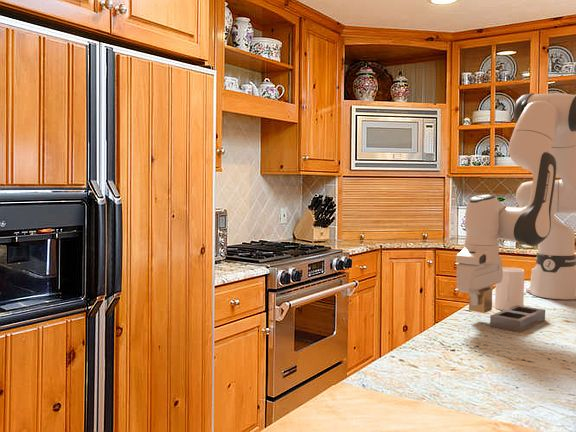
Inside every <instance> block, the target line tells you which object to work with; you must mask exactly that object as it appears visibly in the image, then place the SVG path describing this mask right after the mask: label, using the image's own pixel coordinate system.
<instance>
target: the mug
mask: <svg viewBox="0 0 576 432" xmlns="http://www.w3.org/2000/svg"><path fill="white" fill-rule="evenodd" d="M502 269H503V279H502V281H501V282H500V283H497V284H495V291H494V292H495V294H494V296H495V297H494V305H493V306H494V308H495V309H497V310H500V311H503V310H506V309H508V308H511V307H513V306H516V305H519V306H525V305H524V301H525V300H524V296H525V269H523V268H520V267H519V268H518V267H513V266H512V267H510V266H509V267H508V266H506V267H505V266H504V267H503V266H502Z"/></svg>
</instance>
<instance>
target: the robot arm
mask: <svg viewBox="0 0 576 432" xmlns="http://www.w3.org/2000/svg"><path fill="white" fill-rule="evenodd" d="M513 120H514V121H515V123H516V124H515V126H514V129H513V131H512V134H511V137H510V139H509V142H508V149H507V152H508V155H509V157H510V159H511V160H512V162H513V163H515V165H517V166H518V167H520V168H522V169H524V170H526V171H527V172H530V173H531V174H532V180H530V181H529V180H528V181H525V182H522V183H521V184H520V185H519V186H518V187H517V190H516V192H515V201H516V203H517V206H512V205H511V206H510V205H507V204H505V203H502V202H501V201H500V200H499V199H498V197H497V195H494V194H487V193H486V194H478V195H475V196H472V197H471V198H469V199H468V200H467V203H466V208H465V216H464V218H465V219H464V225H465V226H464V229H465V233H466V235H465V239H464V247H463V248H462V249H461V251H460V252H458V253H457V254H456V256H455V262H456V263H457V266H456V287H457V290H458V291H459V292H461V293H467V294H468V296H469V295H470V297H471V304H472V305H474V306H477V305H479V304H480V299H478V293H479V290H480V289H483V288H490V289H492V290H493V286H494V285H496V284H497V283H500V282H501V281H502V279H503V269H502V267H503V260H502V258H501V257H500V254H499V249H500V248H499V244H500V243H499V240H503V241H507V242H516V243H520V244H524V245H527V246H531V247H533V246H537V252H536V256H535V263H536V265H535V266H534V267H533V268H531V275H530V282H529V285H530V286H529V287H527V288H526V290H525V292H527V293H530V294H531V295H533V296H535V297H540V298H544V299H552V300H554V299H555V300H576V254H575V246H576V244H575V242H576V241H575V239H576V236H575V235H576V234H575V231H574V230H573V228H572V227H570V226H569V225H567V224H565V223H564V222H561V221H559V220H557V219H556V217H555V214H557V213H558V214H561V213H562V214H576V94H569V93H560V92H554V93H526V94H522V95H520V97H518V99H517V100H516V102H515V104H514V108H513ZM556 176H558V177H559V179H557V178H556Z"/></svg>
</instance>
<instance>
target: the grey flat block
mask: <svg viewBox="0 0 576 432" xmlns="http://www.w3.org/2000/svg"><path fill="white" fill-rule="evenodd" d="M489 319H490V320H489V327H490V328H495V329H501V330H506V331H511V332H514V333H515V332H517V333H523V332H524V331H526V330H528V329H530V328H532V327H535V326H536V325H539V324H541V323H542V322H545V321H546V309H542V308H536V307H531V306H525V305H524V306H519V305H516V306H513V307H511V308H508V309H506V310H500V311H499V312H496V313H494V314H491V315H490V318H489Z"/></svg>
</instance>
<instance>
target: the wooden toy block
mask: <svg viewBox="0 0 576 432" xmlns="http://www.w3.org/2000/svg"><path fill="white" fill-rule="evenodd" d="M478 299H480V304H479V305H477V306H474V305H472V304H471V297H470V295H469V294H468V311H472V312H476V313H480V314H481V313H482V314H486V313H489V312H491V311H492V310H493V309H492V308H493V288H492V289H490V288H483V289H480V290H479V293H478Z"/></svg>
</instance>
